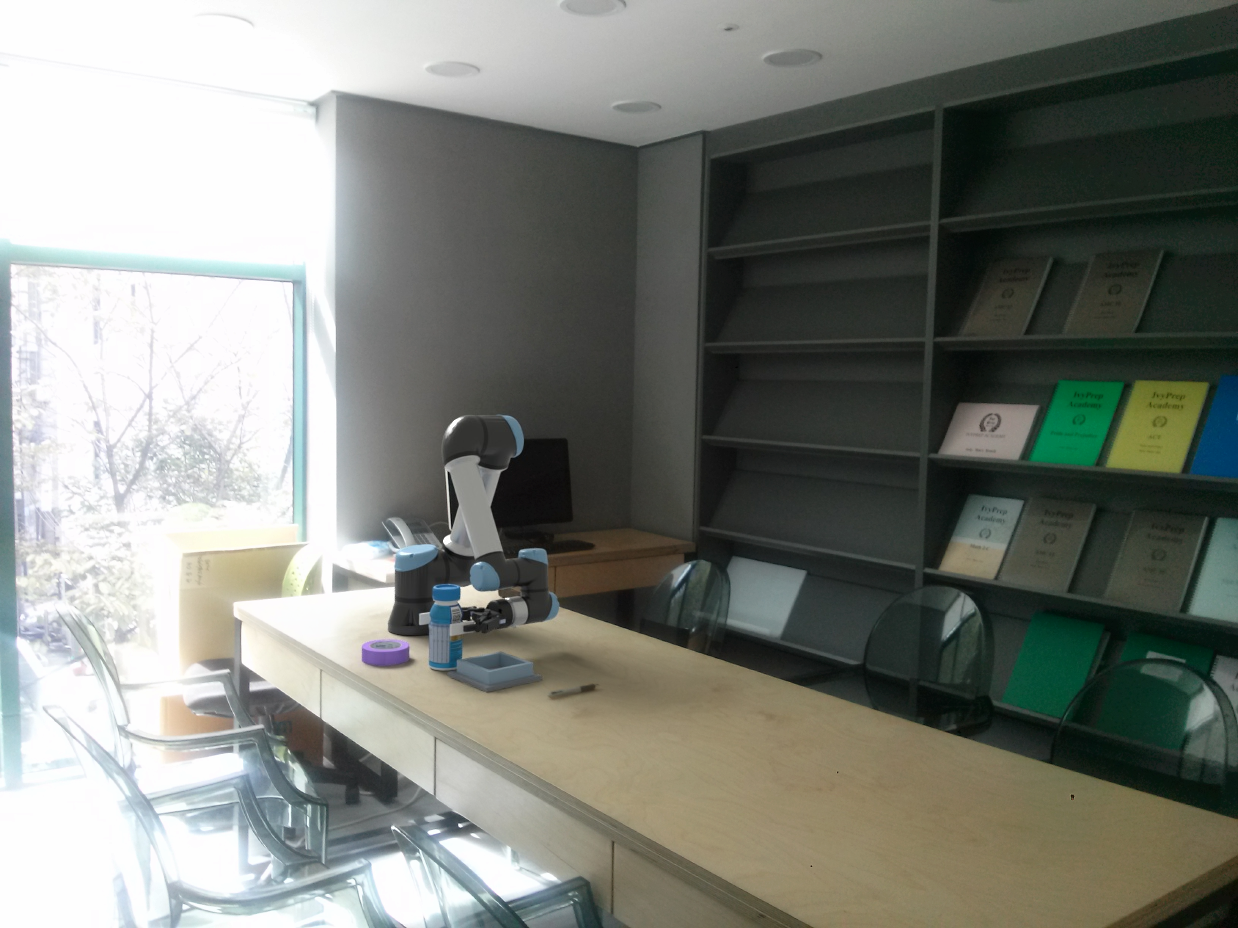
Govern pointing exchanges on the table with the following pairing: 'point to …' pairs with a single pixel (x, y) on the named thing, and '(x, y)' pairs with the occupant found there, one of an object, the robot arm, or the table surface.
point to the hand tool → (508, 593)
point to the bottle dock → (494, 671)
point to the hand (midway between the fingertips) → (434, 624)
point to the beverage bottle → (445, 628)
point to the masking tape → (385, 652)
